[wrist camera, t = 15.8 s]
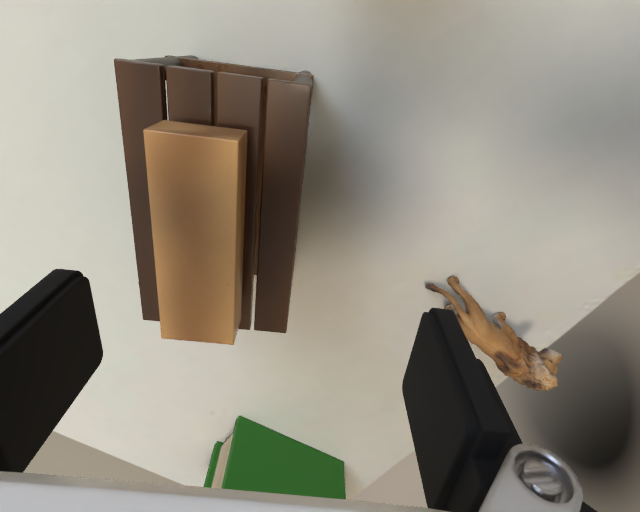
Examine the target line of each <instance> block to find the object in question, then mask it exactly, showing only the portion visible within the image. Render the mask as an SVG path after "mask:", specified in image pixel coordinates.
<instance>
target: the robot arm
mask: <svg viewBox="0 0 640 512" xmlns="http://www.w3.org/2000/svg"><path fill="white" fill-rule="evenodd" d="M102 357H103V349H102V344H101V339H100V334H99V329H98V324H97V319H96V313H95V308H94V303H93V298H92V293H91V288H90V283H89V280H88V278H86V277H83V274H82V273H81V272H80V271H74V270H64V269H55V270H53V271H52V272H51V273H49V274H48V275H47V276H46V277H45V278H43V279H42V280H41V281H40V282H39V283H37V284H36V285H35V286H34V287H32V288H31V289H30V290H29V291H28V292H26V293H25V294H24V295H23V296H22V297H20V298H19V299H18V300H17V301H16V302H14V303H13V304H12V305H11V306H9V307H8V308H7V309H6V310H5V311H3V312H2V313H1V314H0V512H597V511H595V510H594V509H593V508H591V507H590V506H588V505H587V504H586V503H584V502H583V491H582V488H581V485H580V482H579V480H578V478H577V477H576V475H575V474H574V472H573V471H572V469H571V468H569V466H568V465H567V464H566V463H565V462H564V461H563V460H562V459H560V458H559V457H558V456H556V455H554V454H553V453H552V452H550V451H548V450H546V449H544V448H542V447H540V446H536V445H532V444H523V443H522V442H521V439H520V437H519V435H518V433H517V431H516V429H515V427H514V425H513V423H512V421H511V419H510V417H509V415H508V413H507V410H506V408H505V406H504V404H503V403H502V400H501V398H500V396H499V394H498V392H497V390H496V388H495V386H494V384H493V382H492V380H491V378H490V376H489V374H488V372H487V370H486V368H485V366H484V364H483V363H482V361H481V360H479V359H476V357H475V355H474V353H473V351H472V349H471V347H470V345H469V343H468V340H467V338H466V336H465V334H464V332H463V330H462V328H461V326H460V324H459V321H458V319H457V317H456V315H455V313H454V311H453V310H449V309H440V308H431V309H430V311H429V312H424V313H423V315H422V318H421V321H420V325H419V328H418V332H417V335H416V338H415V342H414V345H413V348H412V352H411V355H410V359H409V362H408V365H407V369H406V372H405V376H404V379H403V385H402V390H403V396H404V401H405V406H406V410H407V415H408V419H409V424H410V429H411V433H412V438H413V442H414V447H415V452H416V456H417V461H418V465H419V470H420V475H421V479H422V483H423V489H424V493H425V498H426V502H427V506H428V508H422V507H413V506H403V505H393V504H384V503H375V502H366V501H356V500H345V499H334V498H322V497H311V496H300V495H289V494H277V493H266V492H255V491H243V490H231V489H219V488H207V487H195V486H183V485H171V484H158V483H147V482H135V481H122V480H110V479H97V478H84V477H83V478H82V477H71V476H58V475H45V474H31V473H23V471H24V470H25V469H26V467H27V466H28V465H29V463H30V461H31V460H32V459H33V457H34V456H35V455H36V453H37V452H38V451H39V449H40V448H41V446H42V445H43V444H44V442H45V441H46V439H47V438H48V436H49V435H50V434H51V432H52V431H53V429H54V428H55V427H56V425H57V424H58V422H59V421H60V420H61V418H62V417H63V415H64V414H65V413H66V411H67V410H68V408H69V407H70V405H71V404H72V403H73V401H74V400H75V398H76V397H77V396H78V394H79V393H80V391H81V390H82V389H83V387H84V386H85V384H86V383H87V382H88V380H89V379H90V377H91V376H92V375H93V373H94V372H95V370H96V369H97V367H98V366H99V365H100V363H101V360H102Z"/></svg>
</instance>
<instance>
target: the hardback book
mask: <svg viewBox="0 0 640 512" xmlns="http://www.w3.org/2000/svg"><path fill="white" fill-rule="evenodd" d="M204 487H207V488H219V489H231V490H243V491H255V492H266V493H277V494H289V495H300V496H311V497H322V498H334V499H345V500H346V495H345V478H344V462H343V461H341V460H339V459H336V458H334V457H332V456H330V455H327V454H325V453H323V452H321V451H318V450H316V449H314V448H312V447H309V446H307V445H305V444H303V443H300V442H298V441H296V440H294V439H291V438H289V437H287V436H284V435H282V434H280V433H278V432H275V431H273V430H271V429H269V428H266V427H264V426H262V425H260V424H257V423H255V422H253V421H251V420H248V419H246V418H244V417H242V416H239V417H238V418H237V419H236V423H235V428H234V432H233V434H232V435H231V436H230V437H229V438H228V440H227V441H226V442H225V443H224V444H223V443H221V442H218V441H217V443H216V444H215V445H214V449H213V453H212V457H211V461H210V465H209V468H208V472H207V476H206V480H205V484H204Z"/></svg>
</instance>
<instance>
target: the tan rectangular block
mask: <svg viewBox="0 0 640 512" xmlns="http://www.w3.org/2000/svg"><path fill="white" fill-rule="evenodd" d="M143 132H144V143H145V155H146V166H147V178H148V189H149V201H150V212H151V223H152V235H153V246H154V258H155V269H156V281H157V292H158V304H159V315H160V326H161V338H165V339H176V340H187V341H198V342H208V343H219V344H230V345H233V344H234V342H235V338H236V335H237V331H238V328H239V324H240V321H241V307H242V277H243V247H244V217H245V188H246V158H247V131H246V130H240V129H232V128H224V127H216V126H208V125H200V124H192V123H184V122H176V121H168V120H163V121H161V122H158V123H156V124H154V125H152V126H150V127H148V128H146V129H144V130H143Z"/></svg>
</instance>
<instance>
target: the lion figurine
mask: <svg viewBox="0 0 640 512" xmlns="http://www.w3.org/2000/svg"><path fill="white" fill-rule="evenodd" d="M447 282H448V284H449V285H450V286H451V287H452V289H453V290H454V291H455V292H456V293H457V294H459V295H460V296H461V298H462V299H463V301H464V303H465V306H466V313H465V312H464V310H463V309H462V308H461V306H460V305H459V304H458V303H457V301H456V300H455V299H454V298H453V297H452V296H451V295H450V294H449V293H448V292H446V291H445V290H443V289H441V288H438V287H436V286H435V285H434V284H426V286H425V287H426V288H427V289H430V290H432V291H433V292H438V293H441V294H442V295H444V296H445V297H446V298H447V299H448V300H449V301H450V302H451V304H452V305H447V306H446V307H445V309H449V310H453V311H454V313H455V315H456V317H457V319H458V321H459V324H460V326H461V328H462V330H463V332H464V334H465V336H466V338H467V340H469V341H470V342H471V343H473V344H475V345H477V346H478V347H479V348H480V349H481V351H482V352H484V353H485V354H487V355H488V356H489V357H491V358H492V359H493V360H494V361H495V363H496V365H497V367H498V369H499V370H500V371H501V372H503V373H504V374H505V375H506V376H509V377H511V378H513V379H514V380H515V381H517V382H518V383H520V384H522V385H526V386H527V387H528V388H533V389H534V390H538V391H539V390H545V391H547V390H549V389H551V388H554V387H556V386H558V385H557V378H556V377H555V376H554V375H555V374H556V372H557V365H558V363H559V361H560V360H561V358H562V355H561V354H560V353H557V352H556V351H554V350H549V349H548V348H544V349H542V350H541V351H540V352H538V351H537V350H536V349H535V348H534V347H531V346H529V345H528V344H527V343H526V342H525V341H524V340H522V339H521V338H519V337H517V336H516V334H515V332H514V331H513V329H512V328H511V327H510V326H509V325H508V324H506V323H505V322H504V320H505V318H506V316H505V313H503V312H500V313H496V314H495V315H494V316H493V320H494V323H495V324H496V325H497V326H499V327H500V329H499V328H498V327H496V326H495V325H494V324H492V323H490V322H488V321H487V318H486V316H485V314H484V312H483V311H482V309H481V308H480V306H479V305H478V303H477V302H476V301H475V300H474V299H473V298H472V297H471V296H470V295H469V294H468V293H467V292H466V291H464V290H463V289H462V288H461V286H460V285H459V284H458V283H459V280H458V278H457V277H455V276H452V277H450V278H449V279H448V281H447ZM456 311H457V313H456Z"/></svg>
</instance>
